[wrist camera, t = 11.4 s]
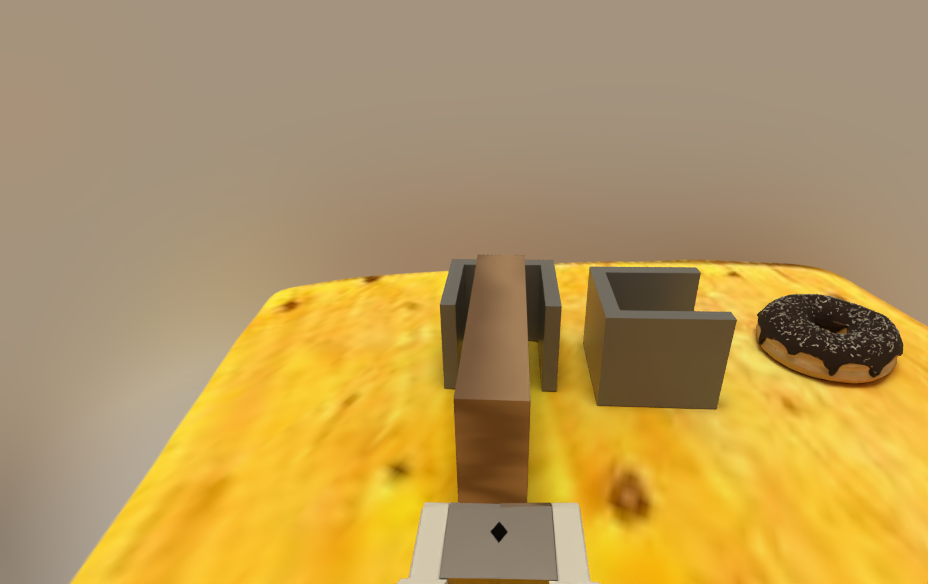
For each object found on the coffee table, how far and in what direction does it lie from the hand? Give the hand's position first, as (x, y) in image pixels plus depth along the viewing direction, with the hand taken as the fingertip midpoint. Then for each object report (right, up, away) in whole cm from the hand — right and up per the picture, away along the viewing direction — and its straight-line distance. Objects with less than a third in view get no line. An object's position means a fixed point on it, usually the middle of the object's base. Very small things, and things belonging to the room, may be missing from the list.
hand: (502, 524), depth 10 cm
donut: (+32, -1, +38) cm, 50 cm away
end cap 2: (+15, -2, +36) cm, 39 cm away
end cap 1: (+3, -2, +38) cm, 38 cm away
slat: (+2, -6, +31) cm, 31 cm away
